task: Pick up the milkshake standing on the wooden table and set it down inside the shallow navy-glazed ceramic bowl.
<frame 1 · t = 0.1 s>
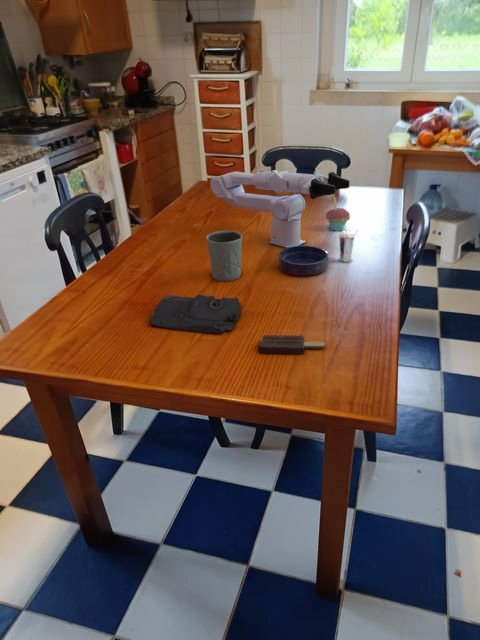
hand: (342, 187, 142), 22 cm above the table, tool horizontal, fingers open, 7 cm apart
black snap pouch: (197, 316, 124), on the table
grey green cup: (227, 275, 145), on the table
bowl: (303, 266, 148), on the table
milkshake: (346, 260, 151), on the table
cupcake: (337, 228, 176), on the table
ice cream bar: (291, 348, 111), on the table
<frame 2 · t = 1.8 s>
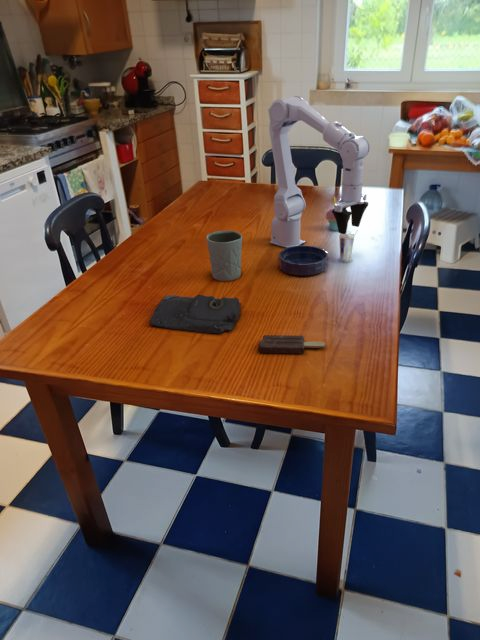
hand: (348, 229, 146), 10 cm above the table, tool pointing down, fingers open, 7 cm apart
nothing on the table moved.
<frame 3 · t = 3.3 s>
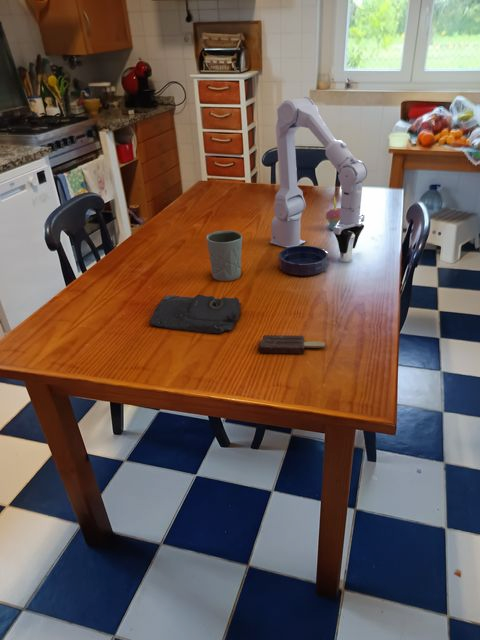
hand: (347, 250, 149), 3 cm above the table, tool pointing down, fingers closed on milkshake, 4 cm apart
milkshake: (346, 260, 151), on the table, touching gripper
everything else where it was.
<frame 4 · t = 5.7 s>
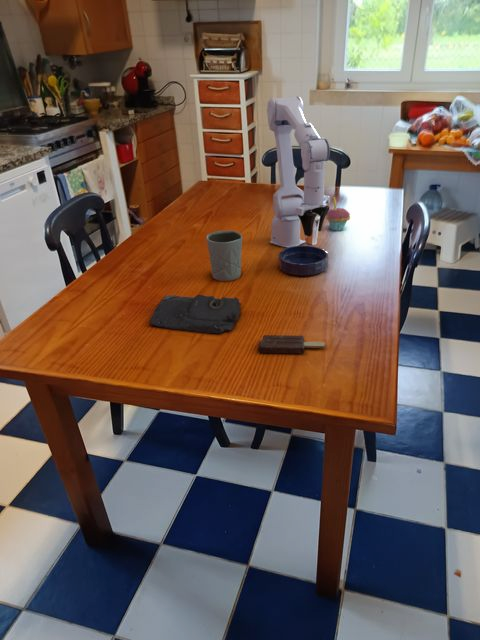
hand: (312, 233, 143), 10 cm above the table, tool pointing down, fingers closed on milkshake, 4 cm apart
milkshake: (312, 244, 145), point 7 cm above the table, touching gripper
everything else where it was.
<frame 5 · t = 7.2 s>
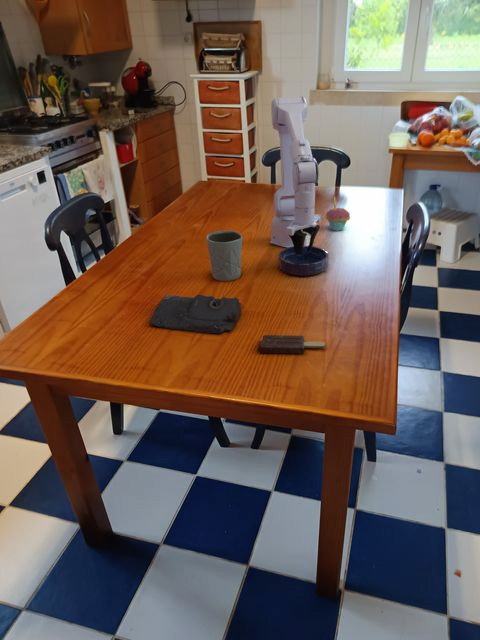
hand: (303, 251, 145), 5 cm above the table, tool pointing down, fingers closed on milkshake, 4 cm apart
milkshake: (303, 262, 147), point 1 cm above the table, touching gripper
everything else where it was.
when the fingers open (4 cm above the table, at t = 8.0 s): milkshake stays where it is, resting on bowl.
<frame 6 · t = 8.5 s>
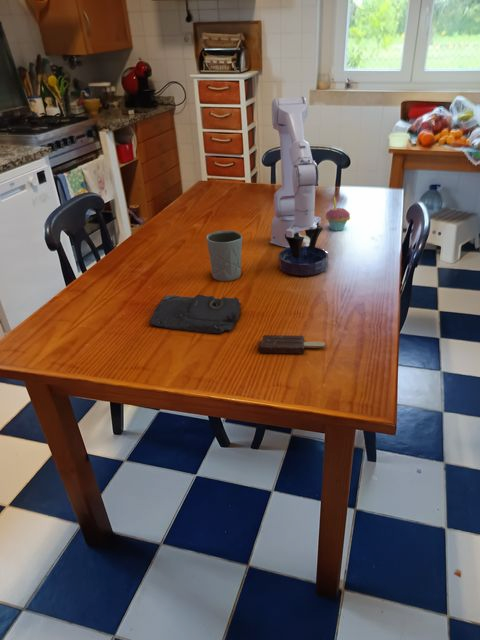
hand: (303, 253, 146), 4 cm above the table, tool pointing down, fingers open, 7 cm apart
milkshake: (303, 265, 148), resting on bowl
everything else where it was.
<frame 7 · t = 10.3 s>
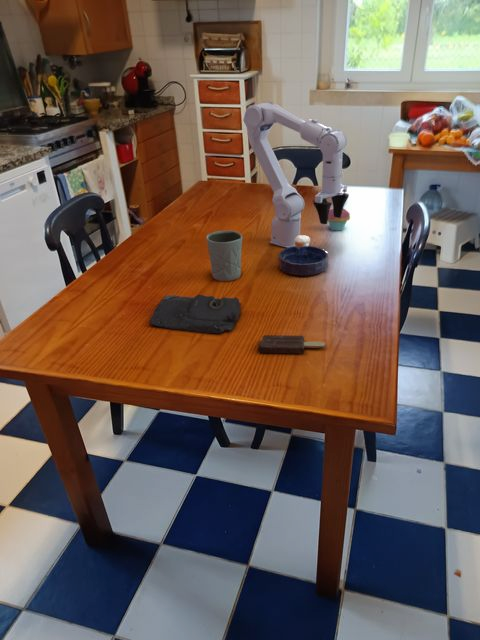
hand: (330, 220, 152), 10 cm above the table, tool pointing down, fingers open, 7 cm apart
nothing on the table moved.
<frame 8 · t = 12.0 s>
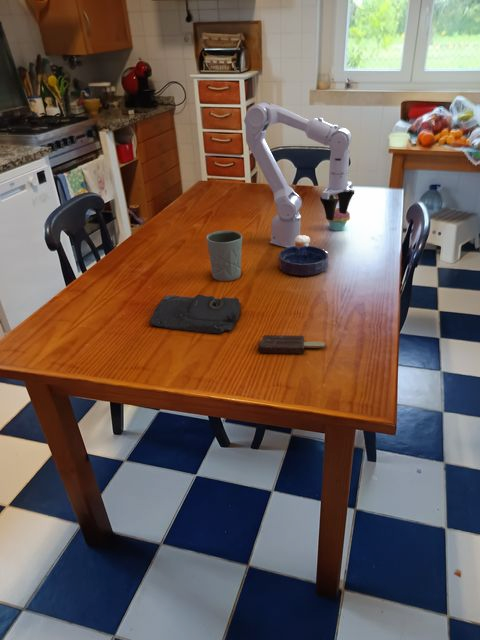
hand: (336, 216, 155), 10 cm above the table, tool pointing down, fingers open, 7 cm apart
nothing on the table moved.
at the end: milkshake inside the target area in the bowl (0.0 cm from its centre), point 0.4 cm above the bowl's base; the gripper is holding nothing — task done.
